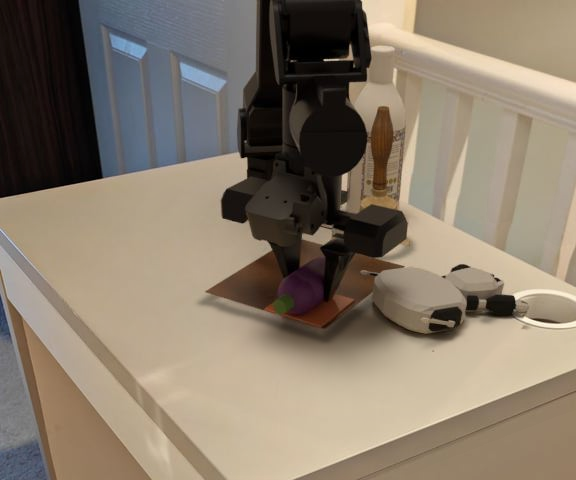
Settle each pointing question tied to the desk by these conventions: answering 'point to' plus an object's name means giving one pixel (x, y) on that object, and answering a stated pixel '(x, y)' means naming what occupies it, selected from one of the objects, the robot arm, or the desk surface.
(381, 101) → the bath foam
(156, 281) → the desk surface
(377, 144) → the hand bell
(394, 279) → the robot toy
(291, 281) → the eggplant
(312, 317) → the corner square
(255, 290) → the board
